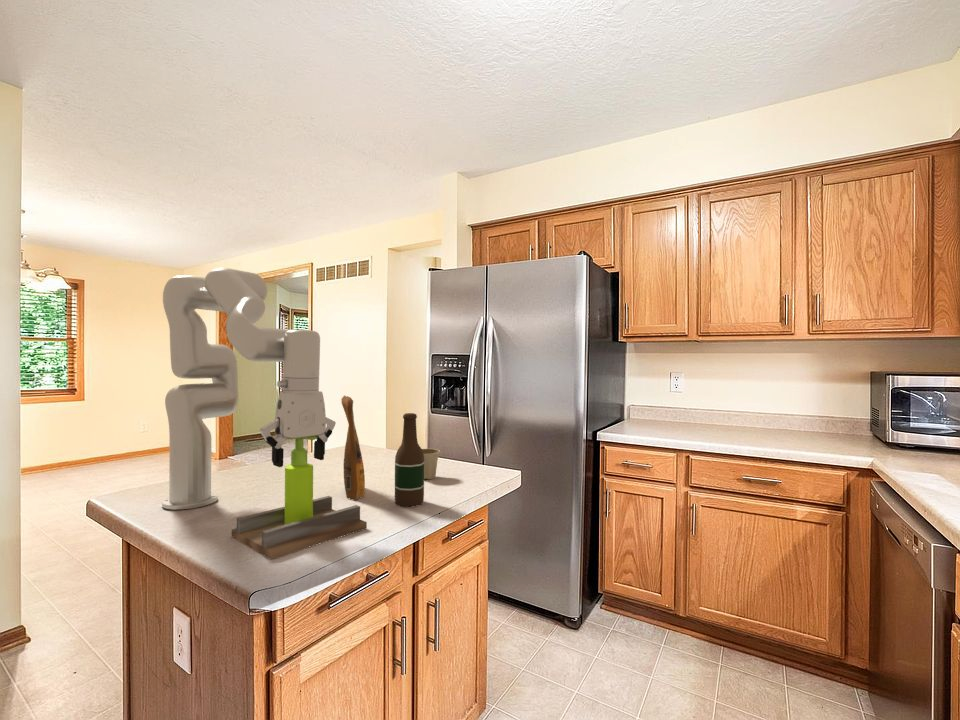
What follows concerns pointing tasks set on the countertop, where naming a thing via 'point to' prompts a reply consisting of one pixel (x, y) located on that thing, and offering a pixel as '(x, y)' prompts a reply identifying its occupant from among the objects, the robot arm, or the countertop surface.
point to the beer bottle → (409, 467)
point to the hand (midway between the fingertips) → (299, 462)
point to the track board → (296, 528)
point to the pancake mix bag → (352, 456)
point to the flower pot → (430, 462)
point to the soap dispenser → (299, 485)
